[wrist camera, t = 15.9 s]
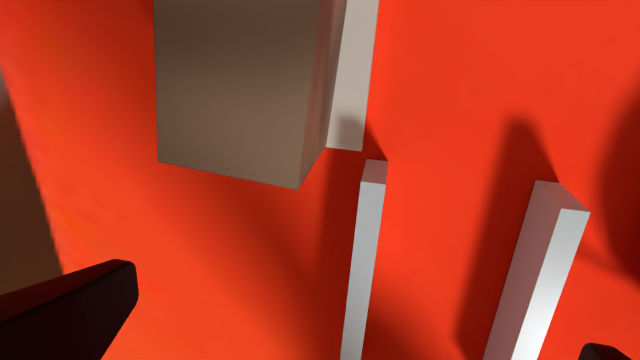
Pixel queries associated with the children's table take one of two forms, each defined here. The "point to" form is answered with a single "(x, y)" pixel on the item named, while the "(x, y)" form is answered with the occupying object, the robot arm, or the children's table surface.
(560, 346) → the children's table surface
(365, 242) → the channel
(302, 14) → the walnut block
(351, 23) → the cream tile
